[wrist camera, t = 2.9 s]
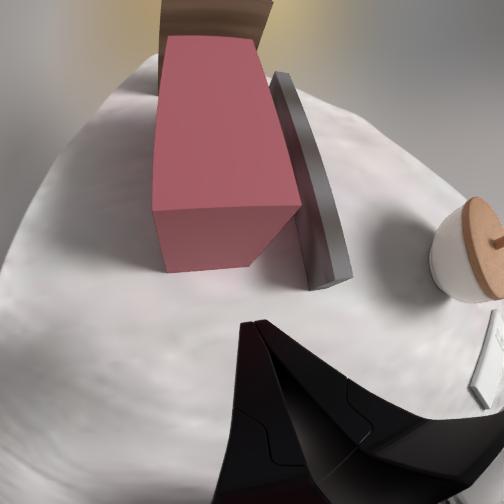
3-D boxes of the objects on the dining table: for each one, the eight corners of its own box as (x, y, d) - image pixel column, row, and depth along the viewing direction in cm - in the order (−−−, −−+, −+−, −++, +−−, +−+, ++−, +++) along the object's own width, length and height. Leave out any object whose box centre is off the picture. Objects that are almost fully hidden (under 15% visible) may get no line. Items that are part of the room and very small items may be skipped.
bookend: (325, 288, 21) (442, 236, 10) (156, 307, 18) (111, 259, 7) (273, 88, 28) (309, 5, 16) (159, 85, 24) (164, -11, 13)
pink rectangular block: (248, 266, 20) (301, 205, 11) (167, 273, 19) (152, 211, 10) (228, 125, 24) (252, 39, 15) (165, 126, 23) (168, 35, 13)
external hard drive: (466, 386, 23) (489, 310, 27) (482, 409, 22) (504, 339, 27) (475, 386, 21) (498, 308, 26) (490, 409, 21) (512, 338, 25)
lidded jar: (409, 292, 23) (485, 267, 15) (418, 207, 27) (474, 169, 19) (462, 323, 24) (525, 309, 16) (466, 248, 28) (518, 223, 20)
